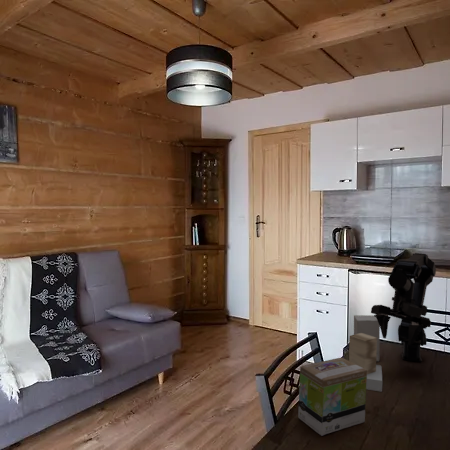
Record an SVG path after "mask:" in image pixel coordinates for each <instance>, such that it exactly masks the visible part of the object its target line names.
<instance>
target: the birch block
mask: <svg viewBox="0 0 450 450" xmlns="http://www.w3.org/2000/svg"><path fill="white" fill-rule="evenodd" d="M348 346H349V349H348V350H349V352H348V361H350V362H352V363H354V364H356V365H358V366H360V367H362V368H364V369H366V370H367V374H369V373H372V372H375V371H376V365H377V361H376V356H377V338H376V337H373V336H370V335H367V334H364V333H359V334H355V335H354V334H352V335H349V345H348Z"/></svg>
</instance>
